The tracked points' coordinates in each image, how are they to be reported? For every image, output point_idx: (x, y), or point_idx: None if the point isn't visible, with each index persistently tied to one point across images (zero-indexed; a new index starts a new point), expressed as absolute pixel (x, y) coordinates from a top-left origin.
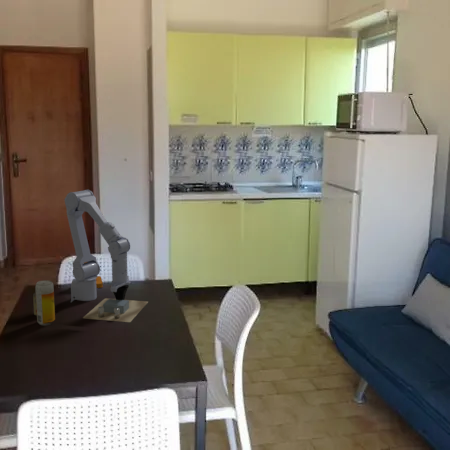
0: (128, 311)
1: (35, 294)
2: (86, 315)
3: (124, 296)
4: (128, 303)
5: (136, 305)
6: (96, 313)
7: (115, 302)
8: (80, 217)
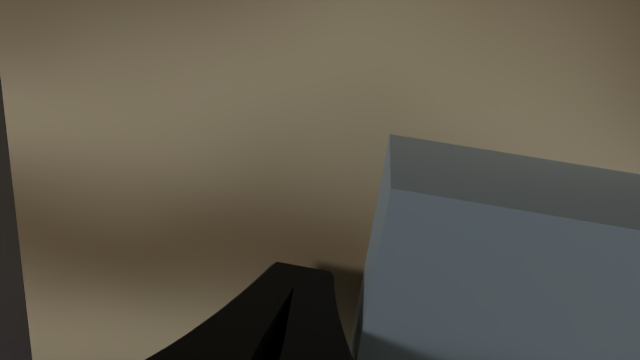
0: (587, 112)
1: None
2: None
3: (251, 336)
4: (420, 171)
5: (240, 12)
6: None
7: None
8: None
